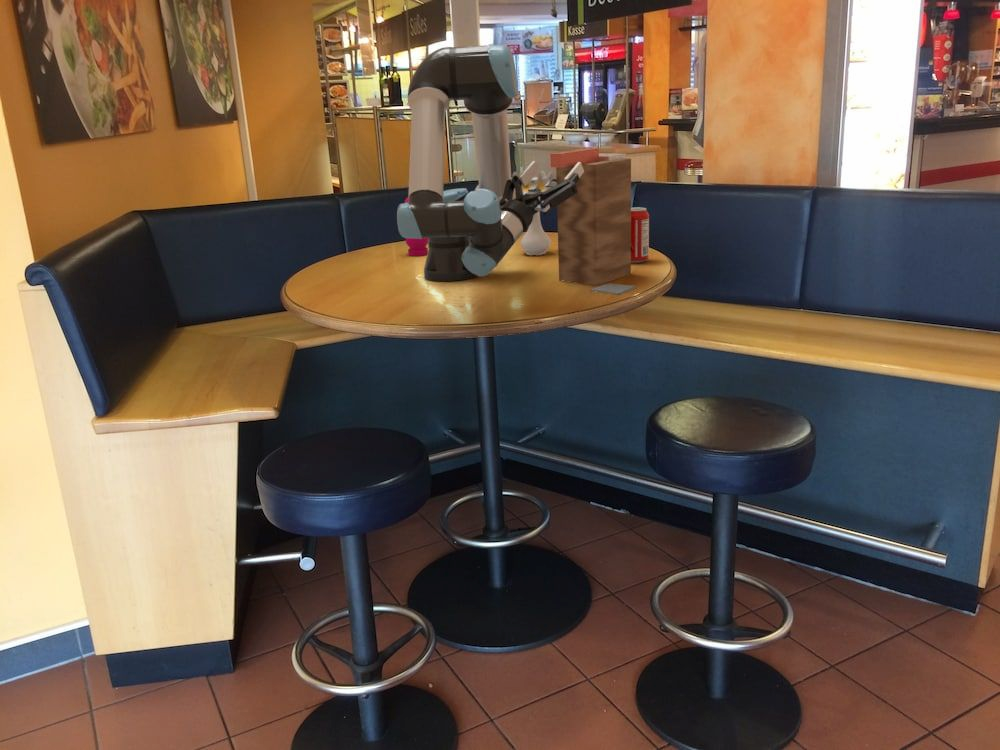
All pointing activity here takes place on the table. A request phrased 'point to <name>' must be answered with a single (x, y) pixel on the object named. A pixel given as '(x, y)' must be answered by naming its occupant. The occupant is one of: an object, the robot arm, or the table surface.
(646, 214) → the soda can
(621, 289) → the tile
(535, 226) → the flower vase
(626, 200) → the stand
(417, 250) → the pepper mill
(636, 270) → the table surface
